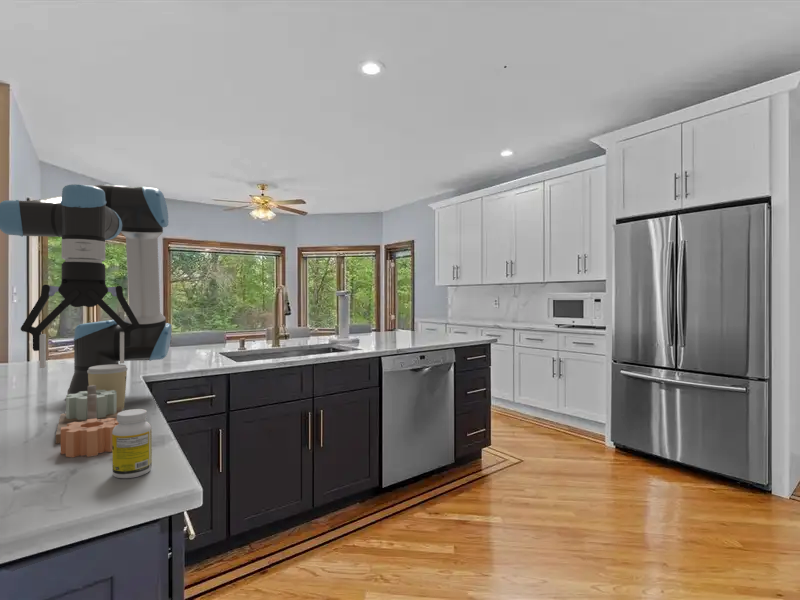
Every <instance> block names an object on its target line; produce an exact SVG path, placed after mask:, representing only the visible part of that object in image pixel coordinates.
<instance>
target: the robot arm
mask: <svg viewBox="0 0 800 600" xmlns="http://www.w3.org/2000/svg"><path fill="white" fill-rule="evenodd" d="M168 226H169V212H168V207H167V202H166V198H165V195H164V193H163V192H162V191H161V190H160V189H158V188H155V187H147V186H145V185H144V186H137V185H136V186H131V185H117V184H95V185H94V184H93V185H86V184H75V183H74V184H67V185H64V186H63V188H62V189H61V195H56V196H52V197H51V196H50V197H45V198H41V199H40V198H39V199H35V200H34V199H32V200H19V199H15V200H13V199H12V200H10V199H9V200H8V199H6V200H2V201H1V202H0V231H1V232H2V233H3V234H5V235H8V236H19V237H52V238H53V237H55V238H56V237H57V238H61V259H62V260H64V262H62V263H61V284H60V285H59V286H56V285H50V284H43V285H42V286H41V291H40V292H41V293H40V296H39V298H38V300H37V301H36V302H35V304H34V306H33V308H31V310H30V312H29V314H28V315H27V318H26V319H25V320H24V321H23V323H22V325H21V327H20V331H21V332H23V333H28V334H31V336H32V350H33V352H39V369H44V368H46V367H47V333H42V332H43V331H44V330H45V329H46V328H48V326H49V325H50V324H51V323H52V322H54V320H55V319H57V318H58V316H59V315H60V314H61V313H63V312H64V311H65V310H66V309H67V308H68V307H69V306H71V307H74V308H81V307H87V308H94V307H95V306H99V307H100V308H101V309H102V311H104V312H105V313H106V314H107V315H108V316H109V317H110V318H111V319H109V320H100V321H93V322H86V323H80V324H78V325H76V326H75V329H74V336H73V348H74V349H73V360H74V365H73V367H74V368H73V369H74V371H73V375H72V377H71V380H70V384H69V387H68V389H67V391H66V392H67V394H66V395H69V394H76V393H78V392H82V391H88V386H89V383H88V373H87V370H88V368H89V367H92V366H98V365H109V364H121V365H122V364H125V362H131V361H132V362H137V361H139V362H141V361H149V362H151V361H157V360H164V359H165V358H166V357H167V355H168V353H169V349H170V345H171V340H172V324H171V323H169V322H166V316H165V315H164V314H162V313H161V300H160V298H161V297H160V296H161V295H160V272H159V271H160V270H159V269H160V268H159V267H160V266H159V241H158V240H159V239H158V238H159V237H161V235H162V234H163V233H164V228H167V227H168ZM120 234H122V235H123V236H124V237H125V248H126V249H125V250H126V267H127V269H126V270H127V271H126V272H127V291H128V302H127V300H126V298H125V297H124V292H123V291H124V289H123V286H121V285H117V286H108V287H107V284H106V265H105V263H103V262H105V261H106V241H110V240H113V239H115V238H117V237H118V236H119V235H120ZM57 292H58V293H59V294H60V295H61V296H62V298H63V300H62V301H60V303H59V304H58V305H57V306H56V307H55V308H54V309H53V310H52V311H51V312H49V314H48V315H47V316H46V317H45V318H44V319H43V320H41V322H39V324H38V325H36V326H33V325H34V323H35V322H36V320H37V318H38V317H39V316H40V313H41V312H42V311H43V309H44V307H45V305H46V304H47V303H48V301H49V298H50V297H53V296H54V295H55V294H56V293H57ZM108 293H111V295H112V296H113V297H116V299H117V300H118V302H119V304H120V305H121V307H122V309H123V311H124V313H125V314H126V317H125V318H124V319H122V318H121V317H120V315H118V314H117V312H116V311H115V310H114V309H113V308H112V307H110V306H109V304H107V302H105V300H104V298H105V296H106V295H107V294H108Z"/></svg>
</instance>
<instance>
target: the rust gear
mask: <svg viewBox="0 0 800 600" xmlns="http://www.w3.org/2000/svg"><path fill="white" fill-rule="evenodd" d="M118 424H119V423H118V422H117V421H116V418H107V419H98V420H97V418H94V419H87V421H82V422H72V423H69V424H67V427H61V443H60V455H65V457H66V458H77V457H79V456H86V458H88V457H89V458H90V457H95V456H96V457H97V456H98V454H103V453H105V452H107V453H111V452H112V431H113V429H114V427H115V426H117V425H118Z"/></svg>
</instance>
